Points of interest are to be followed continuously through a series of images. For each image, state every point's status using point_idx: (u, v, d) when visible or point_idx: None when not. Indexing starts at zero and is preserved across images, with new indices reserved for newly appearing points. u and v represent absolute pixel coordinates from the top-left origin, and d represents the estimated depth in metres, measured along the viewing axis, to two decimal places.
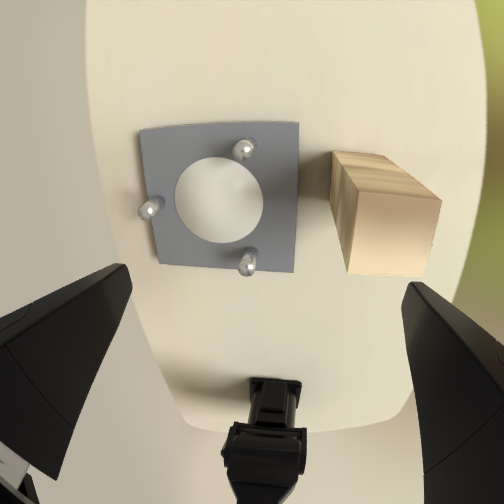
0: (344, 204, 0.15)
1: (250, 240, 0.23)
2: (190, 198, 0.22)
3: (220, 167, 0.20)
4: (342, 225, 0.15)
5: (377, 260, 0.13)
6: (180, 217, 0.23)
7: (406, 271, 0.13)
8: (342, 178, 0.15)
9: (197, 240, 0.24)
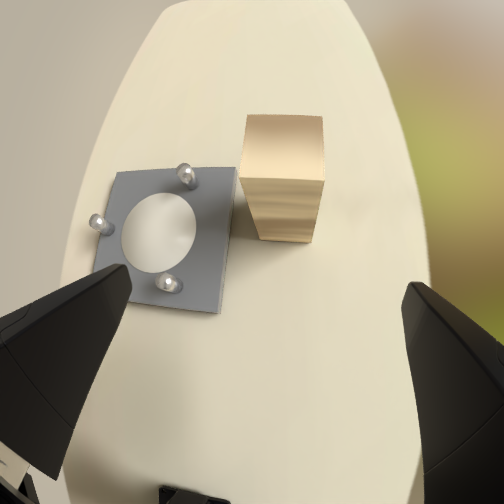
0: None
1: (177, 271, 0.22)
2: (135, 227, 0.24)
3: (166, 200, 0.24)
4: None
5: (268, 163, 0.13)
6: (122, 245, 0.23)
7: (303, 174, 0.13)
8: None
9: (129, 269, 0.23)
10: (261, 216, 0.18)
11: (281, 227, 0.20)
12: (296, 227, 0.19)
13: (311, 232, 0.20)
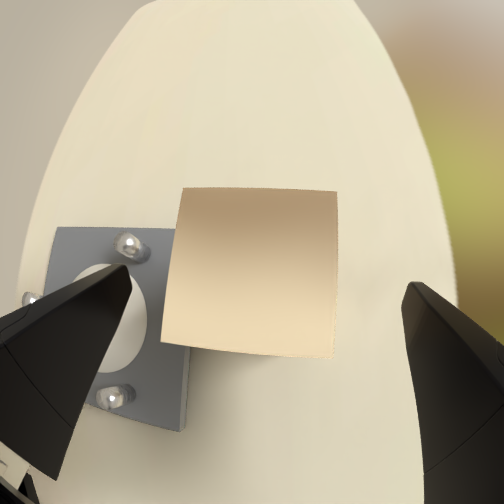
0: None
1: (127, 375, 0.15)
2: None
3: None
4: None
5: (218, 315, 0.07)
6: None
7: (289, 343, 0.06)
8: None
9: None
10: None
11: None
12: None
13: None
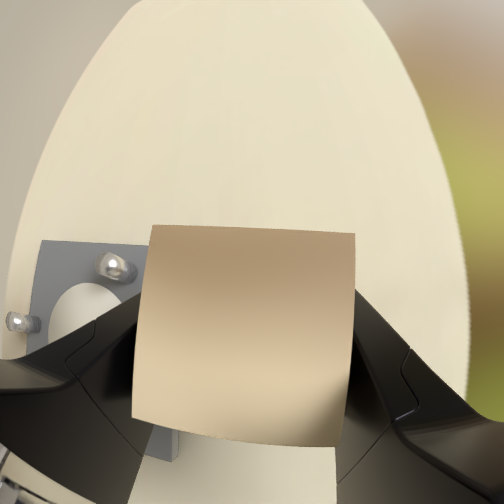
0: None
1: None
2: (61, 329, 0.15)
3: (95, 296, 0.15)
4: None
5: (197, 395, 0.05)
6: None
7: (285, 432, 0.04)
8: None
9: None
10: None
11: None
12: None
13: None
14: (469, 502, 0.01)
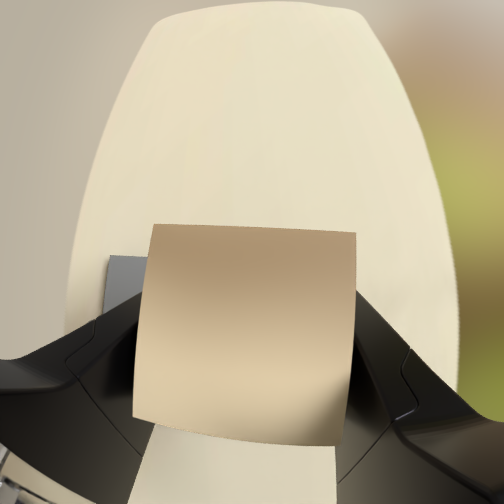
0: None
1: None
2: None
3: None
4: None
5: (199, 395, 0.05)
6: None
7: (287, 431, 0.04)
8: None
9: None
10: None
11: None
12: None
13: None
14: (469, 502, 0.01)
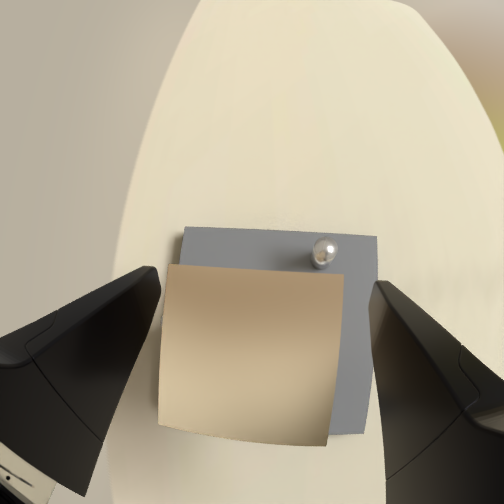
0: None
1: None
2: None
3: None
4: None
5: (213, 406, 0.06)
6: None
7: (283, 434, 0.06)
8: None
9: None
10: None
11: None
12: None
13: None
14: None
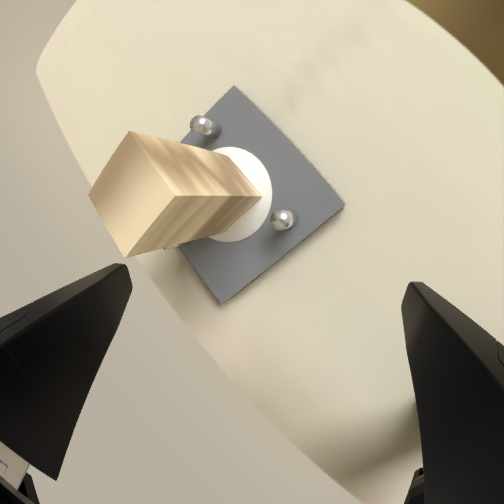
0: None
1: (278, 205, 0.20)
2: None
3: None
4: None
5: (130, 224, 0.12)
6: None
7: (156, 207, 0.11)
8: None
9: (236, 247, 0.21)
10: (190, 236, 0.16)
11: (219, 220, 0.18)
12: (230, 209, 0.17)
13: (247, 197, 0.18)
14: None
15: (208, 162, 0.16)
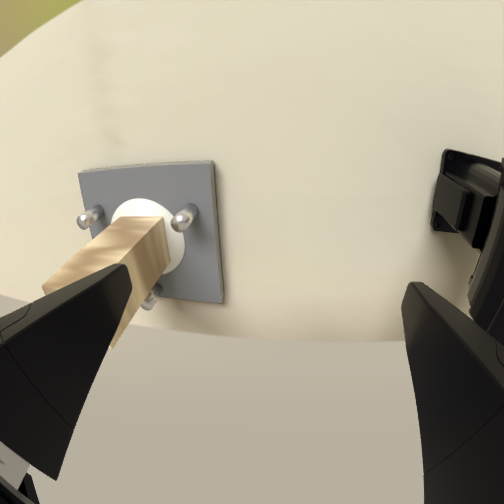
0: None
1: (176, 210, 0.21)
2: None
3: None
4: None
5: None
6: (166, 272, 0.24)
7: None
8: None
9: (186, 261, 0.23)
10: (142, 292, 0.19)
11: (150, 263, 0.20)
12: (147, 251, 0.19)
13: (149, 232, 0.19)
14: None
15: (104, 241, 0.18)
